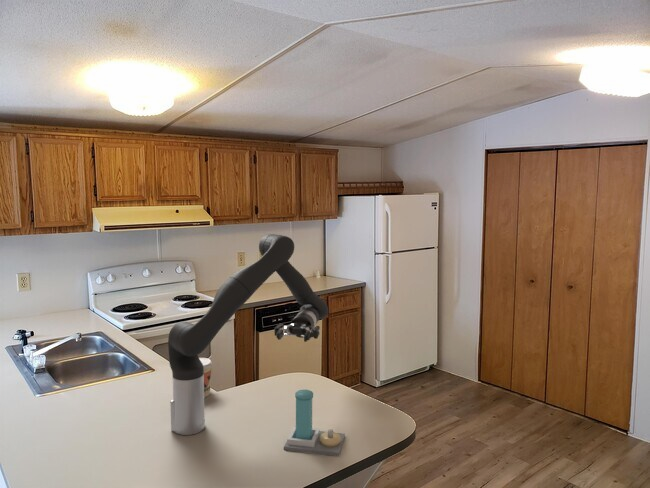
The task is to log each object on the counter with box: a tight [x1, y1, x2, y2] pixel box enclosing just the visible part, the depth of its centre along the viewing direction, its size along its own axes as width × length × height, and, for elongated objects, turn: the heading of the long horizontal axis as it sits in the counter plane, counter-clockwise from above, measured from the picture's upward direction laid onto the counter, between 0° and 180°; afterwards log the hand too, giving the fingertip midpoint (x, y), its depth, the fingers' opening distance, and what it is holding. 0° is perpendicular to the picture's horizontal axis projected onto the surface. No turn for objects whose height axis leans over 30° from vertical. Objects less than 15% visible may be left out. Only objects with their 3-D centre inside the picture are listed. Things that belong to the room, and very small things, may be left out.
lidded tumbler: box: [294, 389, 314, 440], centre depth 146 cm, size 5×5×14 cm
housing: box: [283, 425, 346, 457], centre depth 146 cm, size 16×11×4 cm
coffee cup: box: [199, 357, 213, 398], centre depth 178 cm, size 9×9×12 cm
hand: (291, 337), depth 155 cm, fingers open, 8 cm apart
